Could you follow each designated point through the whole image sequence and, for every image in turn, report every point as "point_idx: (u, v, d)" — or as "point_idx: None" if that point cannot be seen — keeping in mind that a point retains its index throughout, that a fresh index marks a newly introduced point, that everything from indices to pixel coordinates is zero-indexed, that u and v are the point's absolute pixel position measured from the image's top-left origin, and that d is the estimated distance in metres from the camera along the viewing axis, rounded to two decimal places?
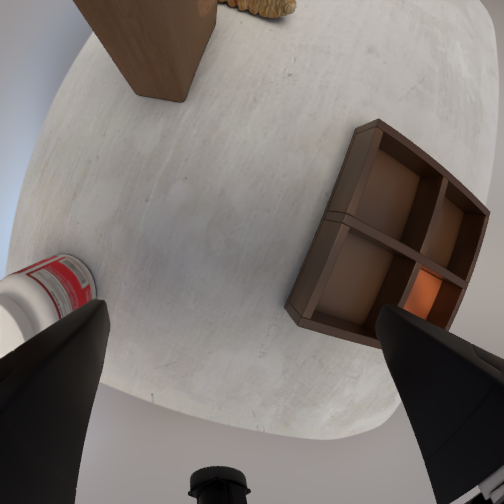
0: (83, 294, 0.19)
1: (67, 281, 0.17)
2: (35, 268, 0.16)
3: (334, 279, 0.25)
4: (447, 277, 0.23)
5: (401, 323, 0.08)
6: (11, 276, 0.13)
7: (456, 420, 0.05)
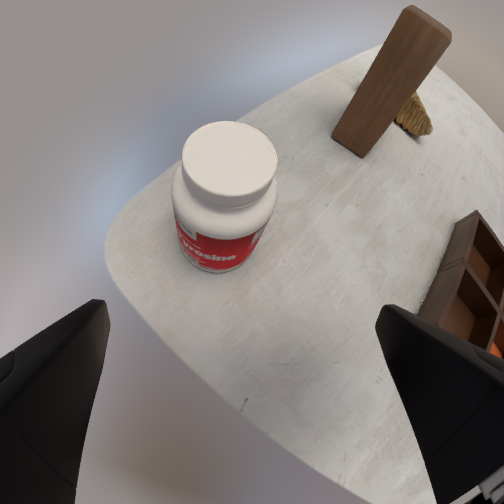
0: None
1: None
2: None
3: None
4: None
5: (401, 323, 0.08)
6: None
7: (456, 421, 0.05)
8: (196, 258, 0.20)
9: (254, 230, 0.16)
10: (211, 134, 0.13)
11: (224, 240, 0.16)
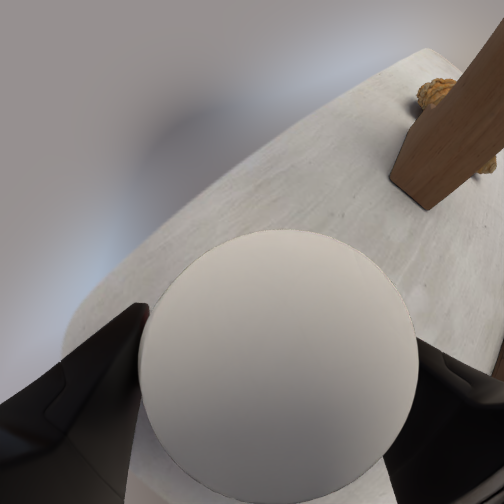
0: None
1: None
2: None
3: None
4: None
5: None
6: None
7: (421, 436, 0.05)
8: None
9: None
10: (234, 293, 0.04)
11: None
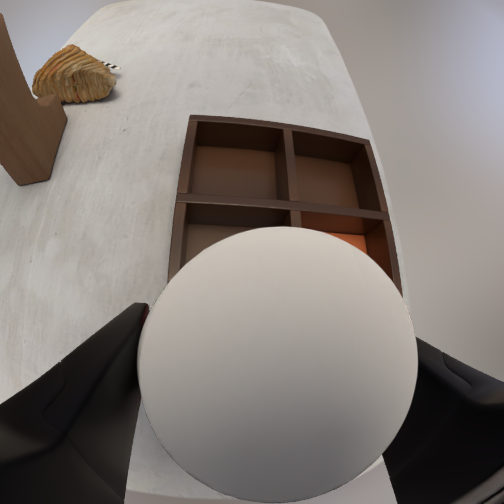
0: None
1: None
2: None
3: None
4: (349, 214, 0.22)
5: None
6: None
7: (421, 436, 0.05)
8: None
9: None
10: (233, 289, 0.04)
11: None
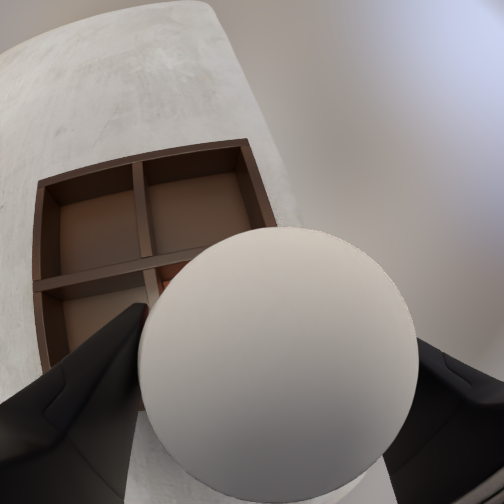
0: None
1: None
2: None
3: None
4: None
5: None
6: None
7: (421, 436, 0.05)
8: None
9: None
10: (234, 289, 0.04)
11: None
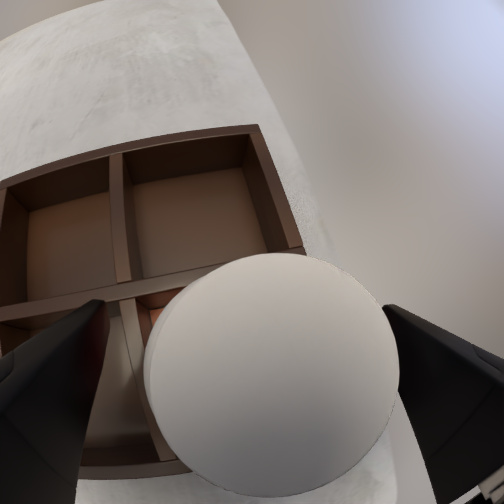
0: None
1: None
2: None
3: None
4: None
5: (401, 323, 0.08)
6: None
7: (455, 421, 0.05)
8: None
9: None
10: (231, 312, 0.05)
11: None
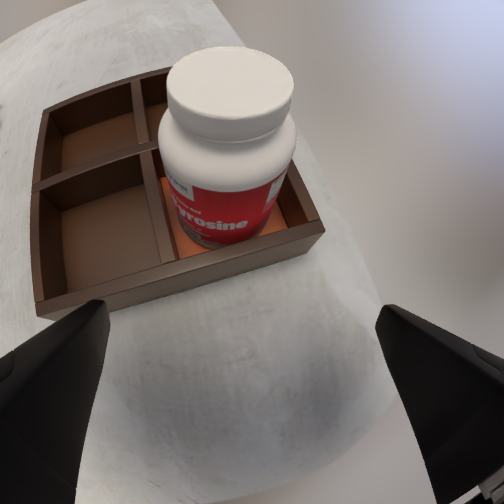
0: None
1: None
2: None
3: (92, 256, 0.17)
4: None
5: (401, 323, 0.08)
6: None
7: (455, 421, 0.05)
8: (197, 230, 0.16)
9: (270, 177, 0.11)
10: (204, 58, 0.09)
11: (231, 194, 0.11)
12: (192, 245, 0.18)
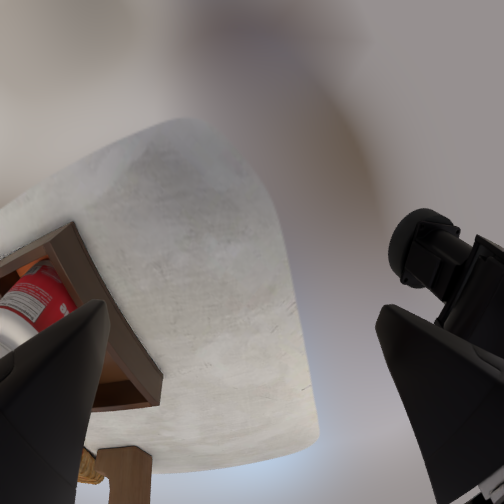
0: (37, 275, 0.16)
1: (15, 285, 0.15)
2: None
3: (115, 365, 0.25)
4: None
5: (401, 323, 0.08)
6: None
7: (456, 420, 0.05)
8: None
9: (32, 331, 0.13)
10: None
11: None
12: None
